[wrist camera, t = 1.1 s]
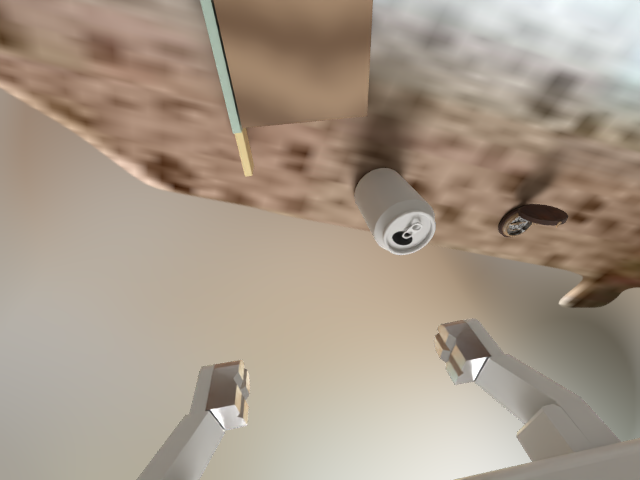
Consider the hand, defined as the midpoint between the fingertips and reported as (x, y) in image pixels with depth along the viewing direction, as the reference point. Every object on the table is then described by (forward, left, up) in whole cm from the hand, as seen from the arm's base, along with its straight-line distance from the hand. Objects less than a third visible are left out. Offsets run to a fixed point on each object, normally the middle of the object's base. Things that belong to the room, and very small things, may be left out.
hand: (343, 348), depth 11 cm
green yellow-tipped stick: (-18, -6, -29) cm, 34 cm away
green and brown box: (-11, +1, -29) cm, 31 cm away
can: (+8, +12, -29) cm, 32 cm away
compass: (+17, +39, -29) cm, 51 cm away
